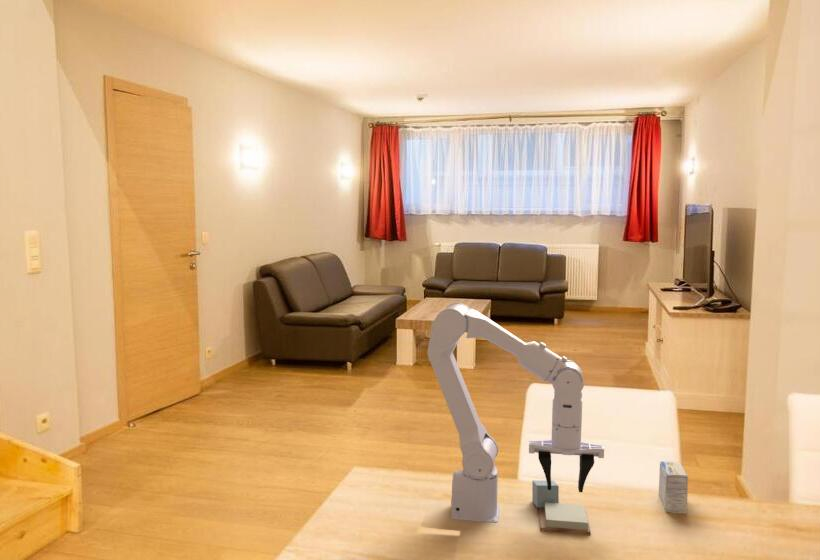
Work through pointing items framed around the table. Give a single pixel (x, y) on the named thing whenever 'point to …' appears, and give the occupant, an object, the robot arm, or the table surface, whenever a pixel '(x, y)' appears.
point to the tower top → (566, 516)
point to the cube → (544, 493)
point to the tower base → (560, 530)
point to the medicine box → (673, 487)
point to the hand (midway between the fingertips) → (564, 489)
